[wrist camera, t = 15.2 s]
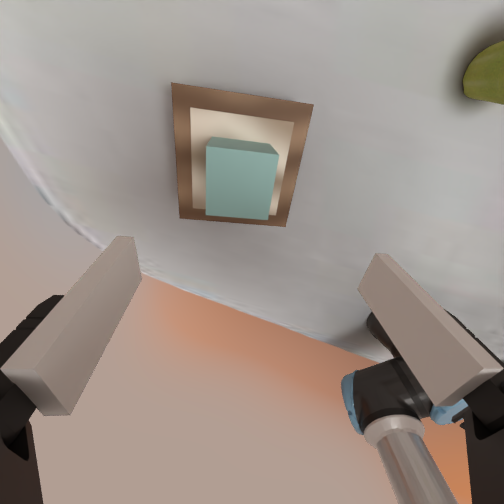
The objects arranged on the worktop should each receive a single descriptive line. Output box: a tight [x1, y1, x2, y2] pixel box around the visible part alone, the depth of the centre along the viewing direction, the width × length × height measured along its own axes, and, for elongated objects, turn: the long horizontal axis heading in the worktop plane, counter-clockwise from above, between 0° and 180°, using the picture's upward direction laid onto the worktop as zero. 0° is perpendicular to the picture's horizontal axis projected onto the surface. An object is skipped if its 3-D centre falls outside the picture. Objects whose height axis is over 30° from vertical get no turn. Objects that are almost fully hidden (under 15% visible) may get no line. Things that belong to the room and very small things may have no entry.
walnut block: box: [171, 83, 314, 227], centre depth 32 cm, size 16×16×8 cm
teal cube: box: [206, 136, 279, 220], centre depth 26 cm, size 7×7×7 cm
